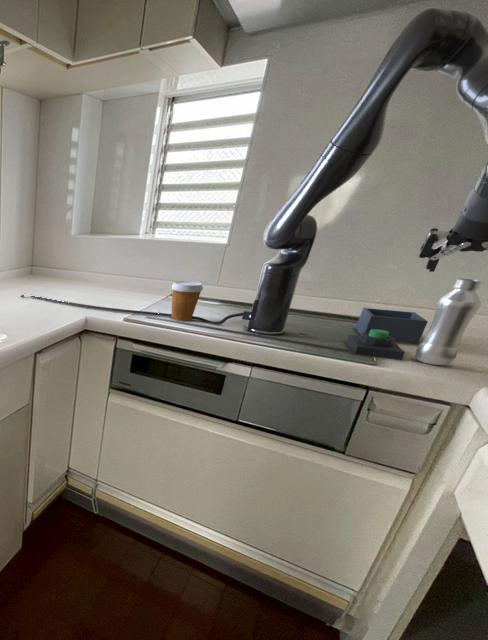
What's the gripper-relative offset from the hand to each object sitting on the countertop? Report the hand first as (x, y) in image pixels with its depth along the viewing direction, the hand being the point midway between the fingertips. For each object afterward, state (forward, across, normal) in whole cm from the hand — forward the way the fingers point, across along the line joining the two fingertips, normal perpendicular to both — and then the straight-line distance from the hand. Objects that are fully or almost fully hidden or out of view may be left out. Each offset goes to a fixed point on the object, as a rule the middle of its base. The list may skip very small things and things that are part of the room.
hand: (460, 269), depth 86 cm
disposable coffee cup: (+22, +58, +4) cm, 62 cm away
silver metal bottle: (+22, -1, +10) cm, 24 cm away
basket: (+36, +7, -8) cm, 38 cm away
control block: (+23, +9, +7) cm, 26 cm away
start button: (+20, +9, +5) cm, 23 cm away
